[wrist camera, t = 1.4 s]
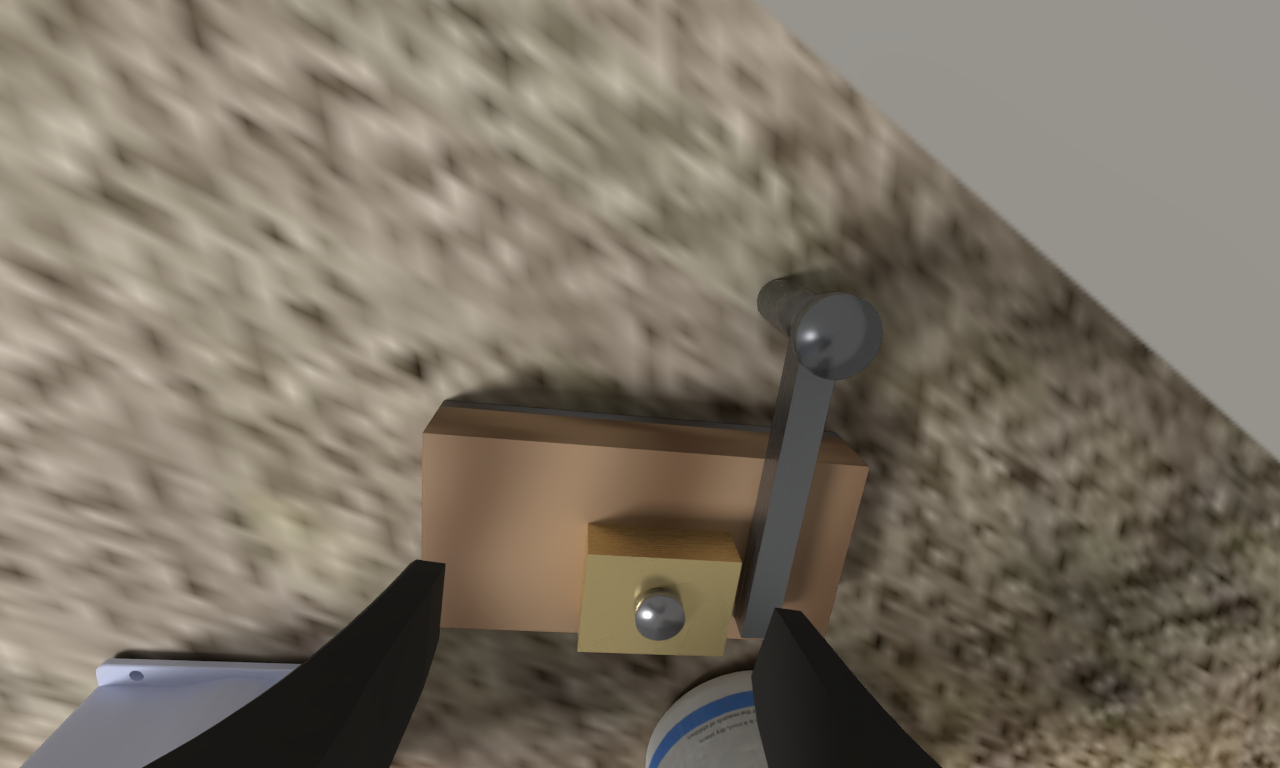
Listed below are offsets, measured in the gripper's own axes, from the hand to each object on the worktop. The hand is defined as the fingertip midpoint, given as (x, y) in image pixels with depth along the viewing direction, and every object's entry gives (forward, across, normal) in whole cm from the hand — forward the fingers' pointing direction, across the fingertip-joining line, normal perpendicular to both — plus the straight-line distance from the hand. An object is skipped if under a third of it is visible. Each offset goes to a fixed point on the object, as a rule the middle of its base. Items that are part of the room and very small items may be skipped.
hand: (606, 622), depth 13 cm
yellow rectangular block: (+7, -2, +4) cm, 9 cm away
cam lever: (+11, -5, -1) cm, 12 cm away
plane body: (+10, -2, +3) cm, 11 cm away
